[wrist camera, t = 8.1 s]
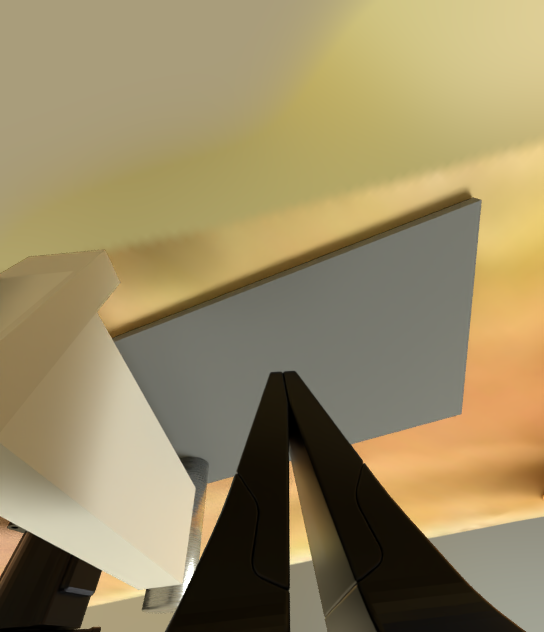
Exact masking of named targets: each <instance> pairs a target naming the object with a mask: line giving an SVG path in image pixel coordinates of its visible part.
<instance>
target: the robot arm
mask: <svg viewBox="0 0 544 632" xmlns="http://www.w3.org/2000/svg"><path fill="white" fill-rule="evenodd" d="M289 453H290V458H291V462H292V467H293V472H294V476H295V481H296V486H297V491H298V495H299V500H300V505H301V509H302V514H303V519H304V523H305V528H306V533H307V538H308V542H309V547H310V552H311V556H312V561H313V566H314V570H315V575H316V579H317V584H318V589H319V593H320V599H321V603H322V608H323V613H324V616H325V622H326V627H327V632H526V631H524V630H523V629H522V628H520V627H519V626H518V625H516V624H515V623H514V622H512V621H511V620H510V619H508V618H507V617H506V616H504V615H503V614H502V613H501V612H499V611H498V610H497V609H496V608H494V607H493V606H492V605H491V604H490V603H489V602H487V601H486V600H485V599H484V598H483V597H482V596H481V595H480V594H479V593H478V592H476V591H475V590H474V589H473V588H472V587H471V586H470V585H469V584H468V583H467V582H466V581H465V580H464V578H463V577H461V575H460V574H459V573H458V572H457V571H456V570H455V569H454V567H453V566H452V565H451V564H450V563H449V562H448V561H447V560H446V559H445V557H444V556H443V555H442V554H441V553H440V552H439V551H438V550H437V548H436V547H435V546H434V545H433V544H432V543H431V542H430V541H429V540H428V538H427V537H426V536H425V535H424V534H423V533H422V532H421V531H420V530H419V528H418V527H417V526H416V525H415V524H414V523H413V522H412V521H411V520H410V518H409V517H408V516H407V515H406V514H405V513H404V512H403V510H402V509H401V508H400V507H399V506H398V505H397V503H396V502H395V501H394V500H393V499H392V498H391V496H390V495H389V494H388V493H387V491H386V490H385V489H384V488H383V486H382V485H381V484H380V483H379V481H378V480H377V479H376V477H375V476H374V475H373V473H372V472H371V471H370V469H369V468H368V467H367V465H366V464H365V463H364V464H363V460H362V459H361V458H360V456H359V455H358V454H357V452H356V451H355V450H354V448H353V447H352V446H351V444H350V443H349V442H348V440H347V439H346V438H345V436H344V435H343V433H342V432H341V431H340V429H339V428H338V427H337V425H336V424H335V423H334V421H333V420H332V419H331V417H330V416H329V415H328V413H327V412H326V411H325V409H324V408H323V407H322V405H321V404H320V403H319V401H318V400H317V399H316V397H315V396H314V395H313V393H312V392H311V391H310V389H309V388H308V387H307V385H306V384H305V383H304V381H303V380H302V379H301V377H300V376H299V375H298V373H297V372H296V371H284V372H283V373H282V372H281V371H277V372H270V374H269V377H268V380H267V383H266V386H265V389H264V391H263V394H262V397H261V400H260V403H259V406H258V409H257V412H256V415H255V418H254V421H253V424H252V426H251V429H250V432H249V435H248V438H247V441H246V444H245V447H244V450H243V453H242V456H241V459H240V462H239V464H238V467H237V470H236V474H235V476H234V479H233V481H232V484H231V487H230V490H229V493H228V495H227V498H226V501H225V503H224V506H223V509H222V511H221V514H220V516H219V518H218V520H217V523H216V525H215V527H214V530H213V532H212V534H211V537H210V539H209V541H208V543H207V545H206V547H205V549H204V552H203V554H202V556H201V558H200V560H199V562H198V564H197V566H196V569H195V571H194V573H193V575H192V577H191V579H190V581H189V583H188V586H187V588H186V590H185V592H184V594H183V596H182V598H181V601H180V603H179V605H178V607H177V609H176V611H175V613H174V615H173V617H172V619H171V621H170V623H169V625H168V627H167V629H166V631H165V632H290V593H289V588H290V552H289ZM7 528H9V529H11V530H15V531H18V532H21V533H24V534H23V536H22V538H21V540H20V541H19V543H18V545H17V547H16V549H15V551H14V552H13V554H12V556H11V558H10V560H9V562H8V563H7V565H6V567H5V569H4V571H3V573H2V574H1V576H0V632H100V631H101V627H92V628H90V629H78V628H80V627H81V624H82V621H83V618H84V615H85V612H86V609H87V606H88V603H89V600H90V597H91V596H92V595H93V594H94V593H95V590H96V587H97V584H98V581H99V578H100V575H101V572H102V570H100V569H99V568H97V567H95V566H93V565H91V564H89V563H87V562H85V561H83V560H82V559H80V558H78V557H76V556H74V555H72V554H70V553H68V552H67V551H65V550H63V549H61V548H59V547H57V546H55V545H53V544H52V543H50V542H48V541H46V540H44V539H42V538H40V537H38V536H36V535H35V534H33V533H31V532H29V531H27V530H25V529H23V528H21V527H20V526H18V525H16V524H14V523H12V522H10V523H9V525H8V526H7Z"/></svg>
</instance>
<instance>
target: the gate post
mask: <svg viewBox="0 0 544 632" xmlns="http://www.w3.org/2000/svg"><path fill="white" fill-rule="evenodd" d="M180 461H181V463H182V464H183V466H184V468H185V470H186V472H187V473H188V475H189V477H190V479H191V481H192V482H193V484H194V486H195V488H196V489H195V496H194V504H193V511H192V518H191V526H190V533H189V540H188V547H187V555H186V562H185V569H184V576H183V584H180V585H173V586H165V587H157V588H150V589H146V593H145V598H144V603H143V607H142V611H143V612H146V613H171V612H175V611H176V609H177V607H178V605H179V603H180V601H181V598H182V596H183V594H184V592H185V590H186V588H187V586H188V583H189V581H190V579H191V577H192V575H193V573H194V571H195V569H196V566H197V564H198V562H199V556H200V546H201V537H202V528H203V518H204V509H205V499H206V490H207V481H208V471H209V463H208V462H207V461H206V460H205V459H202V458H199V457H183V458H180Z"/></svg>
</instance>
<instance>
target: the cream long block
mask: <svg viewBox="0 0 544 632" xmlns="http://www.w3.org/2000/svg"><path fill="white" fill-rule="evenodd" d="M119 284H120V281H119V279H118V276H117V274H116V272H115V270H114V268H113V266H112V263H111V261H110V259H109V257H108V255H107V253H106V250H95V251H84V252H73V253H62V254H52V255H41V256H31V257H27V258H25V259H24V260H22V261H20V262H19V263H17V264H15V265H13V266H12V267H10V268H8V269H7V270H5V271H3V272H2V273H0V516H1V517H3V518H4V519H6V520H8V521H10V522H12V523H14V524H16V525H18V526H20V527H21V528H23V529H25V530H27V531H29V532H31V533H33V534H35V535H36V536H38V537H40V538H42V539H44V540H46V541H48V542H50V543H52V544H53V545H55V546H57V547H59V548H61V549H63V550H65V551H67V552H68V553H70V554H72V555H74V556H76V557H78V558H80V559H82V560H83V561H85V562H87V563H89V564H91V565H93V566H95V567H97V568H99V569H100V570H102V571H104V572H106V573H108V574H110V575H112V576H114V577H115V578H117V579H119V580H121V581H123V582H125V583H127V584H129V585H131V586H132V587H134V588H136V589H138V590H142V589H150V588H157V587H165V586H173V585H180V584H183V576H184V569H185V562H186V555H187V547H188V540H189V533H190V526H191V518H192V511H193V504H194V496H195V489H196V488H195V486H194V484H193V482H192V481H191V479H190V477H189V475H188V473H187V472H186V470H185V468H184V466H183V464H182V463H181V461H180V459H179V457H178V456H177V454H176V452H175V450H174V448H173V447H172V445H171V443H170V441H169V440H168V438H167V436H166V434H165V432H164V431H163V429H162V427H161V425H160V424H159V422H158V420H157V418H156V416H155V415H154V413H153V411H152V409H151V407H150V406H149V404H148V402H147V400H146V399H145V397H144V395H143V393H142V391H141V390H140V388H139V386H138V384H137V383H136V381H135V379H134V377H133V375H132V374H131V372H130V370H129V368H128V367H127V365H126V363H125V361H124V359H123V358H122V356H121V354H120V352H119V350H118V349H117V347H116V345H115V343H114V342H113V340H112V338H111V336H110V334H109V333H108V331H107V329H106V327H105V326H104V324H103V322H102V320H101V318H100V317H99V315H98V313H97V311H98V310H99V309H100V307H101V306H102V305H103V304H104V302H105V301H106V300H107V299H108V297H109V296H110V295H111V294H112V293H113V291H114V290H115V289H116V288H117V286H118V285H119Z"/></svg>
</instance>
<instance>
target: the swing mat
mask: <svg viewBox="0 0 544 632" xmlns="http://www.w3.org/2000/svg"><path fill="white" fill-rule="evenodd" d="M481 201H482V200H480V199H477V198H471V199H468V200H466V201H463V202H461V203H458V204H455V205H453V206H450V207H448V208H445V209H443V210H440V211H437V212H435V213H432V214H430V215H427V216H425V217H422V218H419V219H417V220H414V221H412V222H409V223H407V224H404V225H402V226H399V227H396V228H394V229H391V230H389V231H386V232H384V233H381V234H378V235H376V236H373V237H371V238H368V239H366V240H363V241H360V242H358V243H355V244H353V245H350V246H348V247H345V248H342V249H340V250H337V251H335V252H332V253H330V254H327V255H324V256H322V257H319V258H317V259H314V260H312V261H309V262H307V263H304V264H301V265H299V266H296V267H294V268H291V269H289V270H286V271H283V272H281V273H278V274H276V275H273V276H271V277H268V278H265V279H263V280H260V281H258V282H255V283H253V284H250V285H247V286H245V287H242V288H240V289H237V290H235V291H232V292H230V293H227V294H224V295H222V296H219V297H217V298H214V299H212V300H209V301H206V302H204V303H201V304H199V305H196V306H194V307H191V308H188V309H186V310H183V311H181V312H178V313H176V314H173V315H170V316H168V317H165V318H163V319H160V320H158V321H155V322H152V323H150V324H147V325H145V326H142V327H140V328H137V329H135V330H132V331H129V332H127V333H124V334H122V335H119V336H117V337H114V338H112V340H113V342H114V343H115V345H116V347H117V349H118V350H119V352H120V354H121V356H122V358H123V359H124V361H125V363H126V365H127V367H128V368H129V370H130V372H131V374H132V375H133V377H134V379H135V381H136V383H137V384H138V386H139V388H140V390H141V391H142V393H143V395H144V397H145V399H146V400H147V402H148V404H149V406H150V407H151V409H152V411H153V413H154V415H155V416H156V418H157V420H158V422H159V424H160V425H161V427H162V429H163V431H164V432H165V434H166V436H167V438H168V440H169V441H170V443H171V445H172V447H173V448H174V450H175V452H176V454H177V456H178V457H179V459H180V458H183V457H199V458H202V459H205V460H206V461H207V462H208V463H209V471H208V481H207V483H211V482H215V481H218V480H222V479H226V478H229V477H233V476H235V474H236V470H237V467H238V464H239V462H240V459H241V456H242V453H243V450H244V447H245V444H246V441H247V438H248V435H249V432H250V429H251V426H252V424H253V421H254V418H255V415H256V412H257V409H258V406H259V403H260V400H261V397H262V394H263V391H264V389H265V386H266V383H267V380H268V377H269V374H270V372H277V371H281V372H282V373H283V372H284V371H296V372H297V373H298V375H299V376H300V377H301V379H302V380H303V381H304V383H305V384H306V385H307V387H308V388H309V389H310V391H311V392H312V393H313V395H314V396H315V397H316V399H317V400H318V401H319V403H320V404H321V405H322V407H323V408H324V409H325V411H326V412H327V413H328V415H329V416H330V417H331V419H332V420H333V421H334V423H335V424H336V425H337V427H338V428H339V429H340V431H341V432H342V433H343V435H344V436H345V438H346V439H347V440H348V442H349V443H350V444H354V443H357V442H361V441H365V440H368V439H372V438H376V437H379V436H383V435H387V434H390V433H394V432H398V431H401V430H405V429H409V428H412V427H416V426H420V425H423V424H427V423H431V422H434V421H438V420H442V419H445V418H449V417H453V416H456V415H460V414H461V413H462V402H463V392H464V381H465V371H466V360H467V349H468V339H469V328H470V317H471V307H472V296H473V286H474V275H475V264H476V254H477V243H478V232H479V222H480V211H481ZM289 461H291V458H290V453H289Z"/></svg>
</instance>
